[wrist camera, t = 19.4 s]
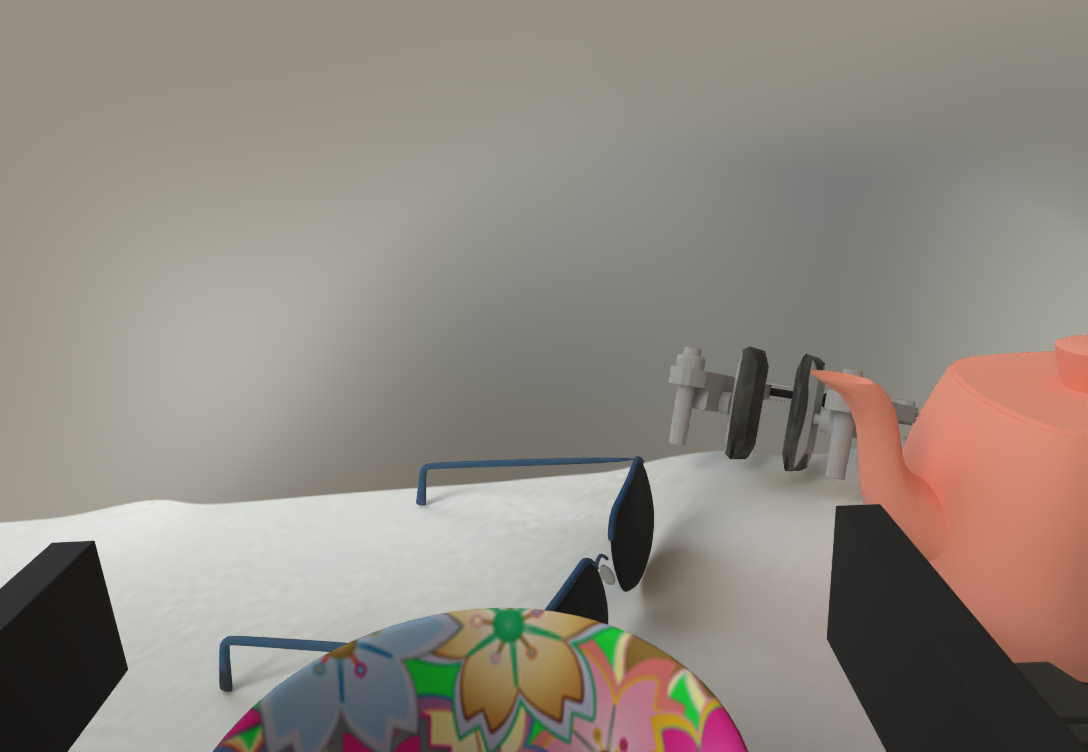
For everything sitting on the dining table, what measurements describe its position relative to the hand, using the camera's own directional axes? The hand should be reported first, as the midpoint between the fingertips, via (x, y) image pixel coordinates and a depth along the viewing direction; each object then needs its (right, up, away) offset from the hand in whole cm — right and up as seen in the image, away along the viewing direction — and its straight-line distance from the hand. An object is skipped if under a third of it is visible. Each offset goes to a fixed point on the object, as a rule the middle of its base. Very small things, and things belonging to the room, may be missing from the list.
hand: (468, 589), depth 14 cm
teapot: (+22, -7, +20) cm, 31 cm away
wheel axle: (+12, +2, +30) cm, 32 cm away
